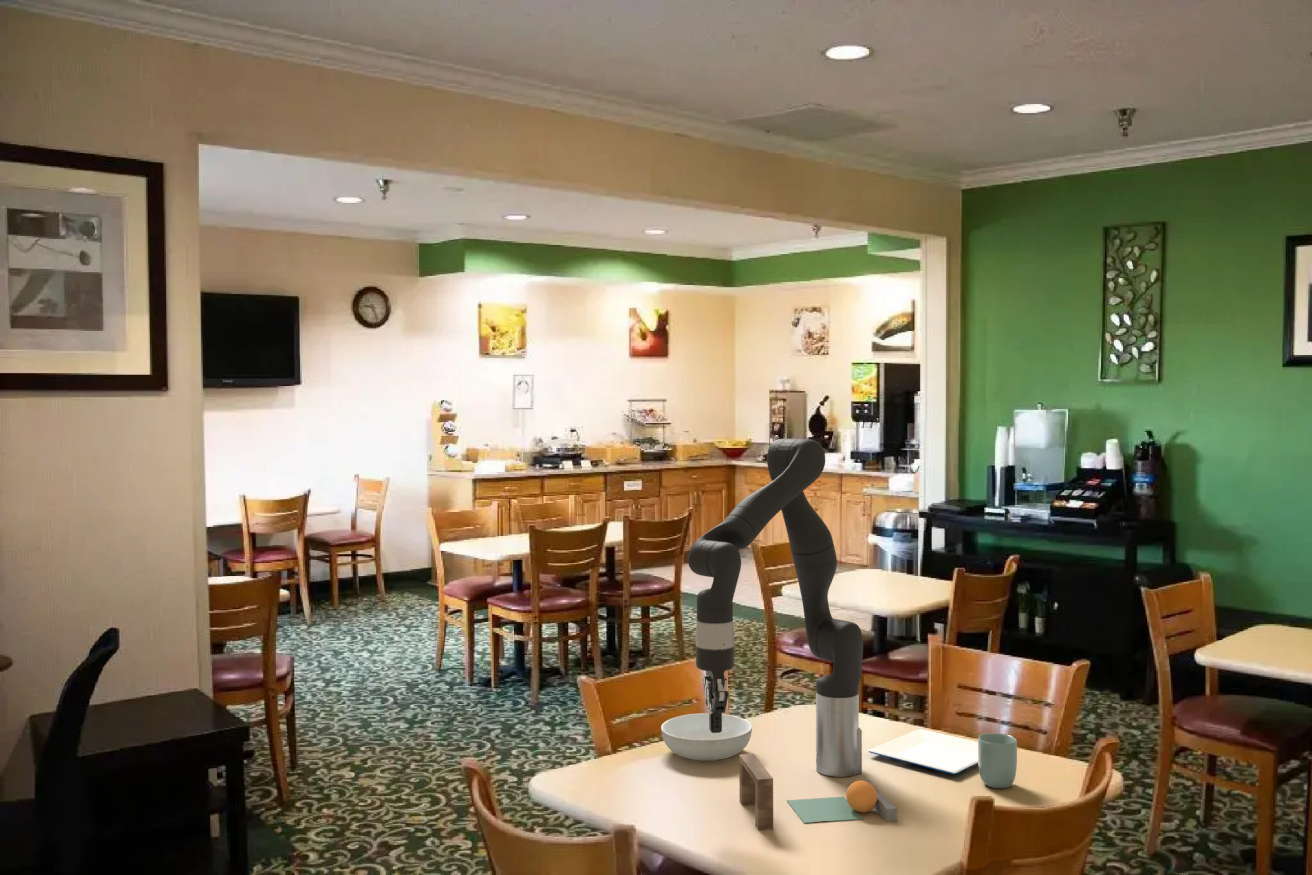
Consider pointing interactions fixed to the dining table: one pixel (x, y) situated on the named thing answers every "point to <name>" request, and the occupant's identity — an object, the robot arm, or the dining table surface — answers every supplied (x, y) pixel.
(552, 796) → the dining table surface
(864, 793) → the ball
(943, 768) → the plate
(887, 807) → the stopper
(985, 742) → the cup
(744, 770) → the bridge
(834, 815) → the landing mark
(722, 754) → the serving bowl
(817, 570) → the robot arm
